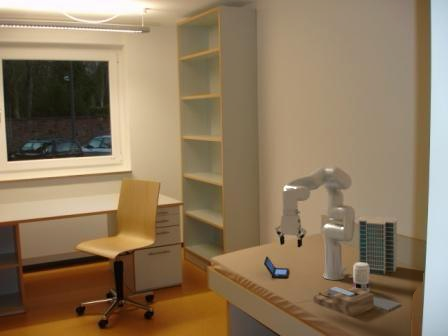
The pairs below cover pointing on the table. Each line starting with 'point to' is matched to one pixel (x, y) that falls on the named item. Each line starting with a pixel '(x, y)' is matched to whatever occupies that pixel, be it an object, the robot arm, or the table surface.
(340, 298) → the jig
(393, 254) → the building model
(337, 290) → the bar
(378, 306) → the mat
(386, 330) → the table surface
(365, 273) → the supplement can
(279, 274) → the game console
